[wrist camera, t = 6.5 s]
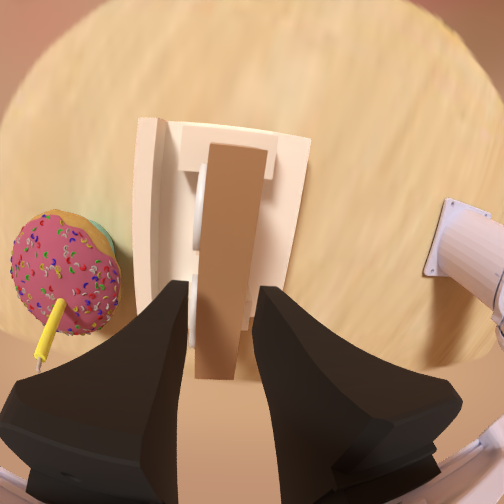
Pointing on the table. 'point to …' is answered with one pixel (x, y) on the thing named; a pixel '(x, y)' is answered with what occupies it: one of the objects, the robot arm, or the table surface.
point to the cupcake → (66, 275)
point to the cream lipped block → (184, 196)
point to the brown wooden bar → (223, 254)
